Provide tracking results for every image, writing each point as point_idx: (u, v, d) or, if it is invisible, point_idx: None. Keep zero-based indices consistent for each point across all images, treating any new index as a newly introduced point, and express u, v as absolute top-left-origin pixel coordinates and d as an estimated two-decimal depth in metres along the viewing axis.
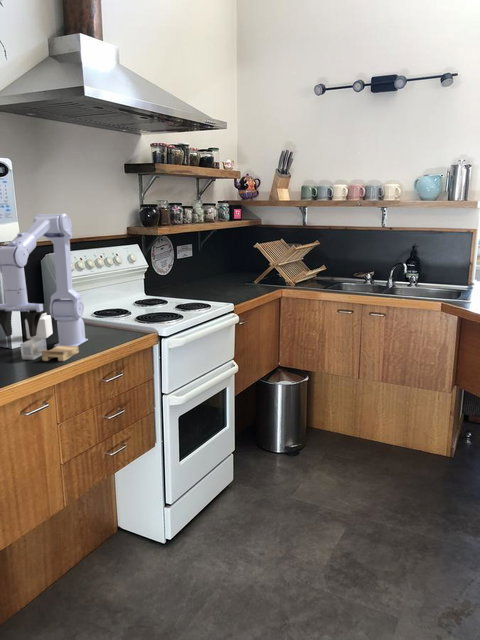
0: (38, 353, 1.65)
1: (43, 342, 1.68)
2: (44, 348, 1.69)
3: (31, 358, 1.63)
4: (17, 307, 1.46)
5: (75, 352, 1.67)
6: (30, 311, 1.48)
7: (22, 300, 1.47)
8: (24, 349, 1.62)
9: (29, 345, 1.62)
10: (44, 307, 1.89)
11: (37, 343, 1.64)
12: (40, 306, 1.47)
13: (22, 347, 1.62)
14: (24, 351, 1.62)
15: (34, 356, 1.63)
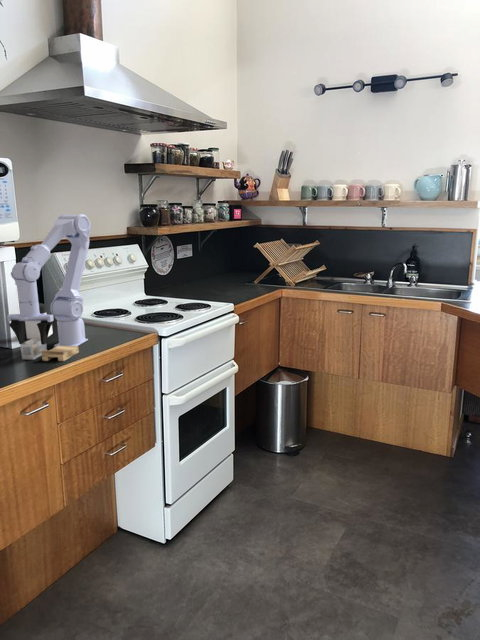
0: (38, 353, 1.65)
1: None
2: (44, 348, 1.69)
3: (31, 358, 1.63)
4: (30, 317, 1.61)
5: (75, 352, 1.67)
6: (42, 321, 1.63)
7: (35, 311, 1.62)
8: (24, 349, 1.62)
9: (29, 345, 1.62)
10: (44, 307, 1.89)
11: (37, 343, 1.64)
12: (51, 317, 1.62)
13: (22, 347, 1.62)
14: (24, 351, 1.62)
15: (34, 356, 1.63)
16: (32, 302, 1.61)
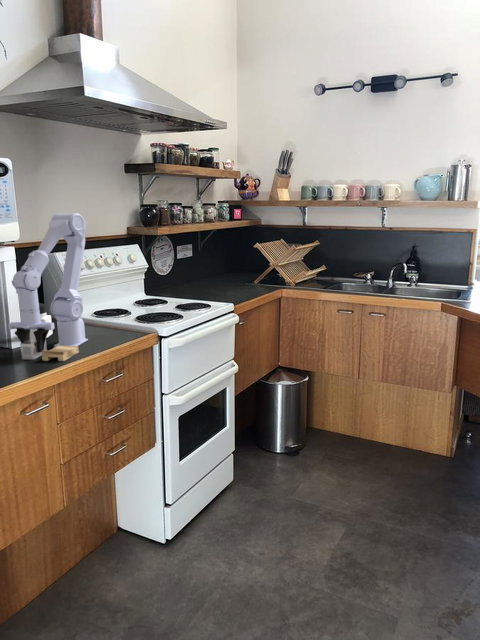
0: (38, 352, 1.65)
1: None
2: (44, 348, 1.69)
3: (31, 358, 1.63)
4: (31, 326, 1.62)
5: (75, 352, 1.67)
6: (43, 329, 1.63)
7: (35, 319, 1.62)
8: (24, 349, 1.62)
9: (29, 345, 1.62)
10: (44, 307, 1.89)
11: None
12: (52, 325, 1.63)
13: (22, 347, 1.62)
14: (24, 350, 1.62)
15: (34, 356, 1.63)
16: (33, 310, 1.61)
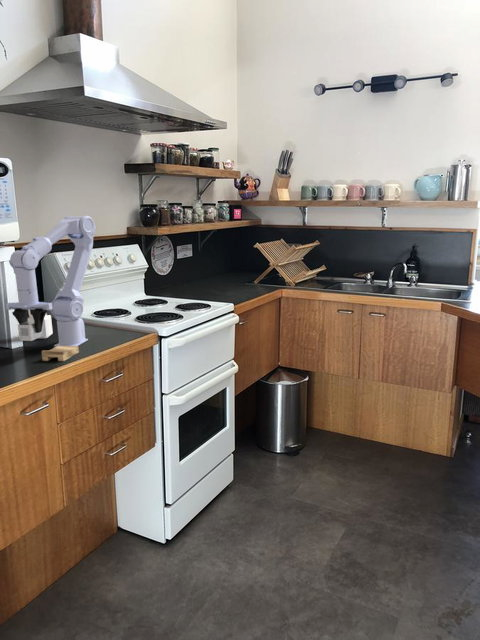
0: (36, 334, 1.64)
1: None
2: (42, 329, 1.67)
3: (29, 339, 1.61)
4: (29, 306, 1.60)
5: (75, 352, 1.67)
6: (40, 309, 1.62)
7: (33, 299, 1.61)
8: (22, 330, 1.61)
9: (27, 326, 1.60)
10: None
11: None
12: (50, 305, 1.62)
13: (20, 328, 1.61)
14: (22, 332, 1.61)
15: (32, 337, 1.62)
16: (31, 290, 1.60)
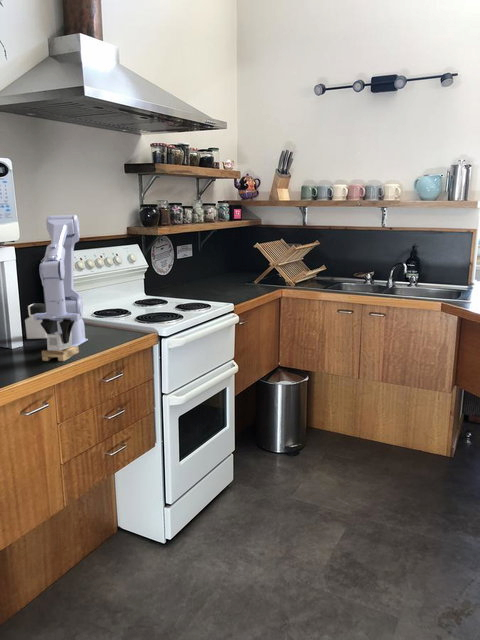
0: (64, 344, 1.63)
1: None
2: (69, 341, 1.67)
3: (57, 349, 1.60)
4: (57, 316, 1.59)
5: (75, 352, 1.67)
6: (69, 320, 1.61)
7: (62, 310, 1.60)
8: (50, 339, 1.60)
9: (56, 335, 1.60)
10: (44, 307, 1.89)
11: None
12: (78, 315, 1.61)
13: (48, 337, 1.60)
14: (50, 341, 1.60)
15: (60, 347, 1.61)
16: (59, 301, 1.59)
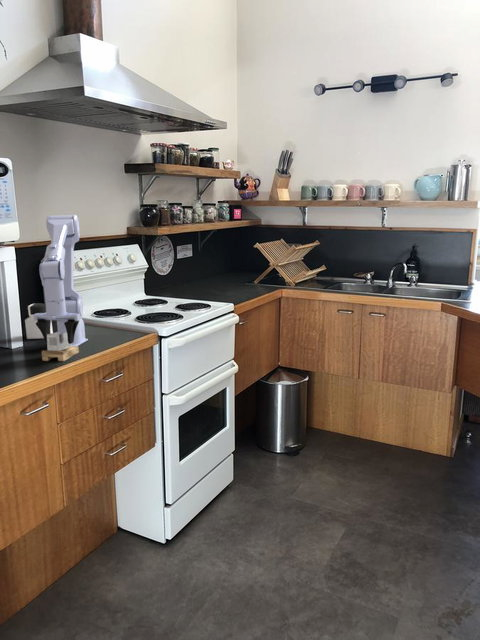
0: (64, 345, 1.63)
1: None
2: None
3: (57, 349, 1.60)
4: (57, 316, 1.59)
5: (75, 352, 1.67)
6: (69, 320, 1.61)
7: (61, 310, 1.60)
8: (50, 339, 1.60)
9: (56, 335, 1.60)
10: (44, 307, 1.89)
11: (63, 335, 1.63)
12: (78, 315, 1.61)
13: (48, 337, 1.60)
14: (50, 341, 1.60)
15: (60, 347, 1.61)
16: (59, 301, 1.59)
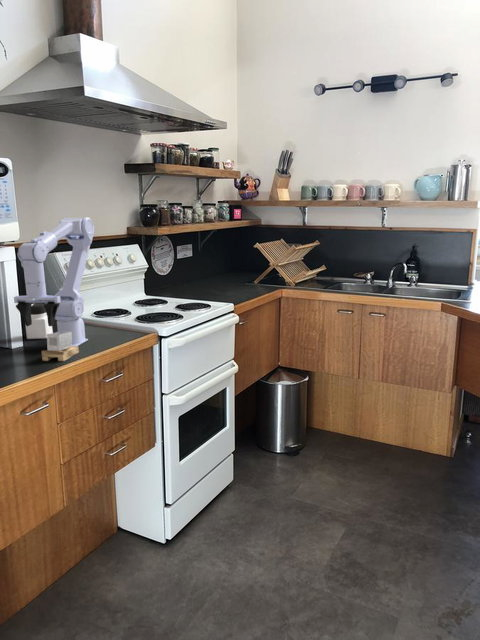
0: (64, 345, 1.63)
1: (69, 335, 1.66)
2: (69, 341, 1.67)
3: (57, 349, 1.60)
4: (37, 299, 1.59)
5: (75, 352, 1.67)
6: (49, 302, 1.61)
7: (41, 292, 1.60)
8: (50, 339, 1.60)
9: (56, 335, 1.60)
10: (44, 307, 1.89)
11: (63, 335, 1.63)
12: (58, 298, 1.61)
13: (48, 337, 1.60)
14: (50, 341, 1.60)
15: (60, 347, 1.61)
16: (39, 283, 1.59)
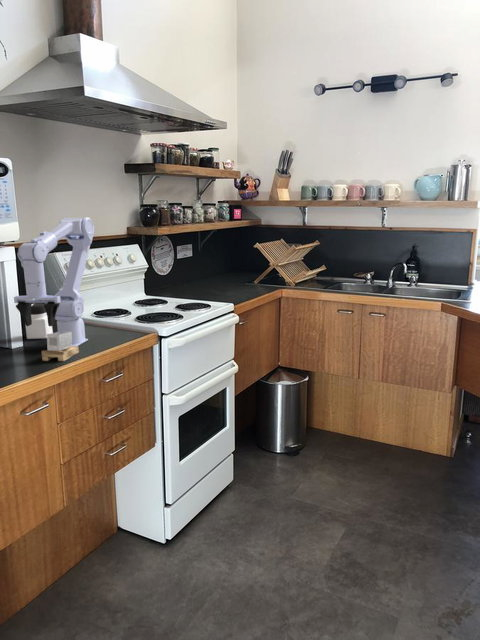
0: (64, 345, 1.63)
1: (69, 335, 1.66)
2: (69, 341, 1.67)
3: (57, 349, 1.60)
4: (37, 299, 1.59)
5: (75, 352, 1.67)
6: (49, 302, 1.61)
7: (41, 292, 1.60)
8: (50, 339, 1.60)
9: (56, 335, 1.60)
10: (44, 307, 1.89)
11: (63, 335, 1.63)
12: (58, 298, 1.61)
13: (48, 337, 1.60)
14: (50, 341, 1.60)
15: (60, 347, 1.61)
16: (39, 283, 1.59)
